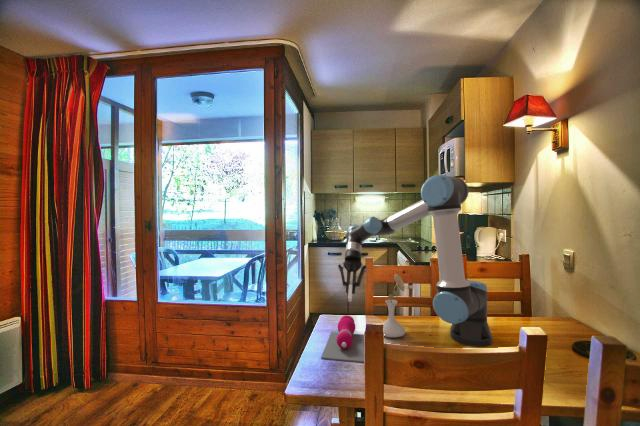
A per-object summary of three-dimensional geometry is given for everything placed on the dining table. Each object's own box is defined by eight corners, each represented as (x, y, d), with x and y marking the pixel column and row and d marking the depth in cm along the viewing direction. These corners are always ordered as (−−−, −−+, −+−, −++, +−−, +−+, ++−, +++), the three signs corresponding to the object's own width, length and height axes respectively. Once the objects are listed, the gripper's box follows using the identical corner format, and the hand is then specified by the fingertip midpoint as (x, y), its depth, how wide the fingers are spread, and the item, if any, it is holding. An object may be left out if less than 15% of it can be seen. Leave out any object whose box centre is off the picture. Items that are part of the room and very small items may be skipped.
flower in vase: (394, 343, 117) (394, 278, 117) (371, 333, 126) (371, 273, 126) (413, 334, 126) (413, 273, 125) (391, 326, 134) (391, 269, 134)
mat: (331, 333, 127) (331, 332, 127) (369, 336, 124) (369, 335, 124) (321, 358, 105) (321, 357, 105) (367, 363, 102) (367, 361, 102)
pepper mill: (335, 323, 128) (329, 347, 108) (344, 310, 127) (341, 331, 107) (349, 334, 128) (346, 359, 108) (359, 321, 127) (358, 344, 107)
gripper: (367, 259, 143) (366, 305, 127) (340, 258, 146) (335, 303, 130) (367, 249, 138) (365, 296, 122) (338, 248, 140) (333, 294, 124)
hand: (349, 300), depth 126 cm, fingers closed
